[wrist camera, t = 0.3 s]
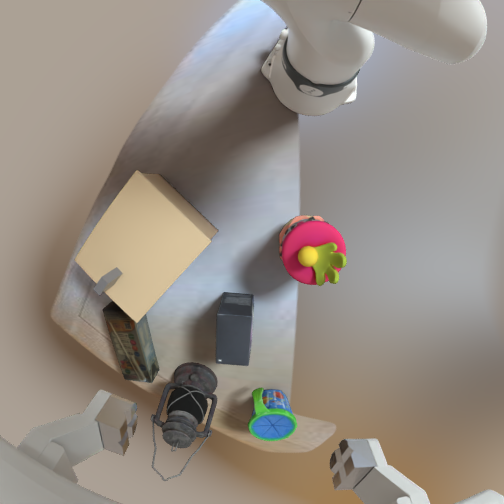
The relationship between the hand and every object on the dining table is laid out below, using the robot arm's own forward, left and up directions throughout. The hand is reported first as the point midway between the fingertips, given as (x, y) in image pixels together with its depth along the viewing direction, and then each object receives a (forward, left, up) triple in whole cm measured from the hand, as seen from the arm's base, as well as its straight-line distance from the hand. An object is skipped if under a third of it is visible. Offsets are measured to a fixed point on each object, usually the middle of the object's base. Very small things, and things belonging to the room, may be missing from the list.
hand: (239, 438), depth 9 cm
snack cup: (+38, +15, -47) cm, 62 cm away
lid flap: (+7, -19, -36) cm, 41 cm away
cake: (-1, +9, -47) cm, 48 cm away
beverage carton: (+31, -20, -47) cm, 60 cm away
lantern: (+38, -4, -47) cm, 60 cm away
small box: (+18, +1, -47) cm, 50 cm away
